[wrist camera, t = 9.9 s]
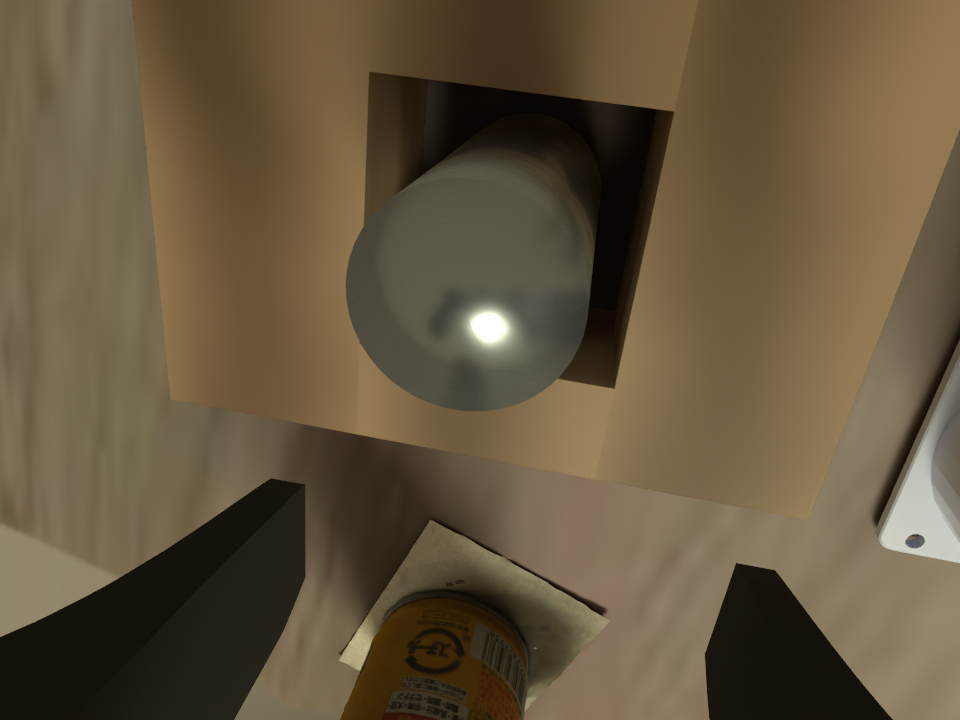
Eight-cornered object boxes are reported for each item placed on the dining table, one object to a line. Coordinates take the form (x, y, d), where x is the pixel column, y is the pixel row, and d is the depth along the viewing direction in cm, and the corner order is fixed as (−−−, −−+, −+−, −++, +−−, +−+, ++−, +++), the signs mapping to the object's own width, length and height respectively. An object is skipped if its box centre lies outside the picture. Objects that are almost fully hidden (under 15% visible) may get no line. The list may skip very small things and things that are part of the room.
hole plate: (904, 2, 16) (1012, -7, 12) (768, 415, 21) (808, 520, 17) (244, -71, 18) (121, -102, 14) (257, 326, 23) (170, 398, 18)
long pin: (611, 121, 19) (606, 194, 10) (589, 268, 20) (570, 427, 12) (460, 105, 19) (345, 163, 11) (451, 251, 21) (345, 392, 13)
